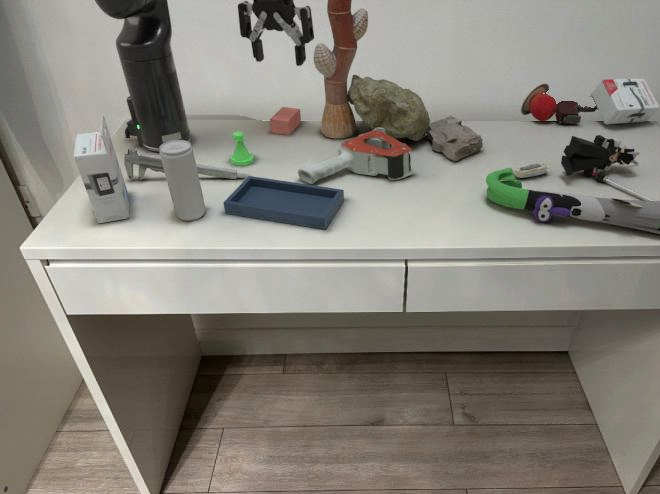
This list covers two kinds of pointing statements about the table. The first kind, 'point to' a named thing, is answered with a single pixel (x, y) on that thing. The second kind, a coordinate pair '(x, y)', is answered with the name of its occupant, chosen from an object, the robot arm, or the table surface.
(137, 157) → the caliper
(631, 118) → the ink box
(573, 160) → the toy
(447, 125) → the stone
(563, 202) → the toy
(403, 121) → the rock
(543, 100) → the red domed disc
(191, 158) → the beverage can
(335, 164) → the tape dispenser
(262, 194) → the tray
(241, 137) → the game piece
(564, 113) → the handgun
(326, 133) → the plant stem model
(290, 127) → the eraser
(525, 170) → the bacterium model
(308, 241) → the table surface
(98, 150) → the product box
